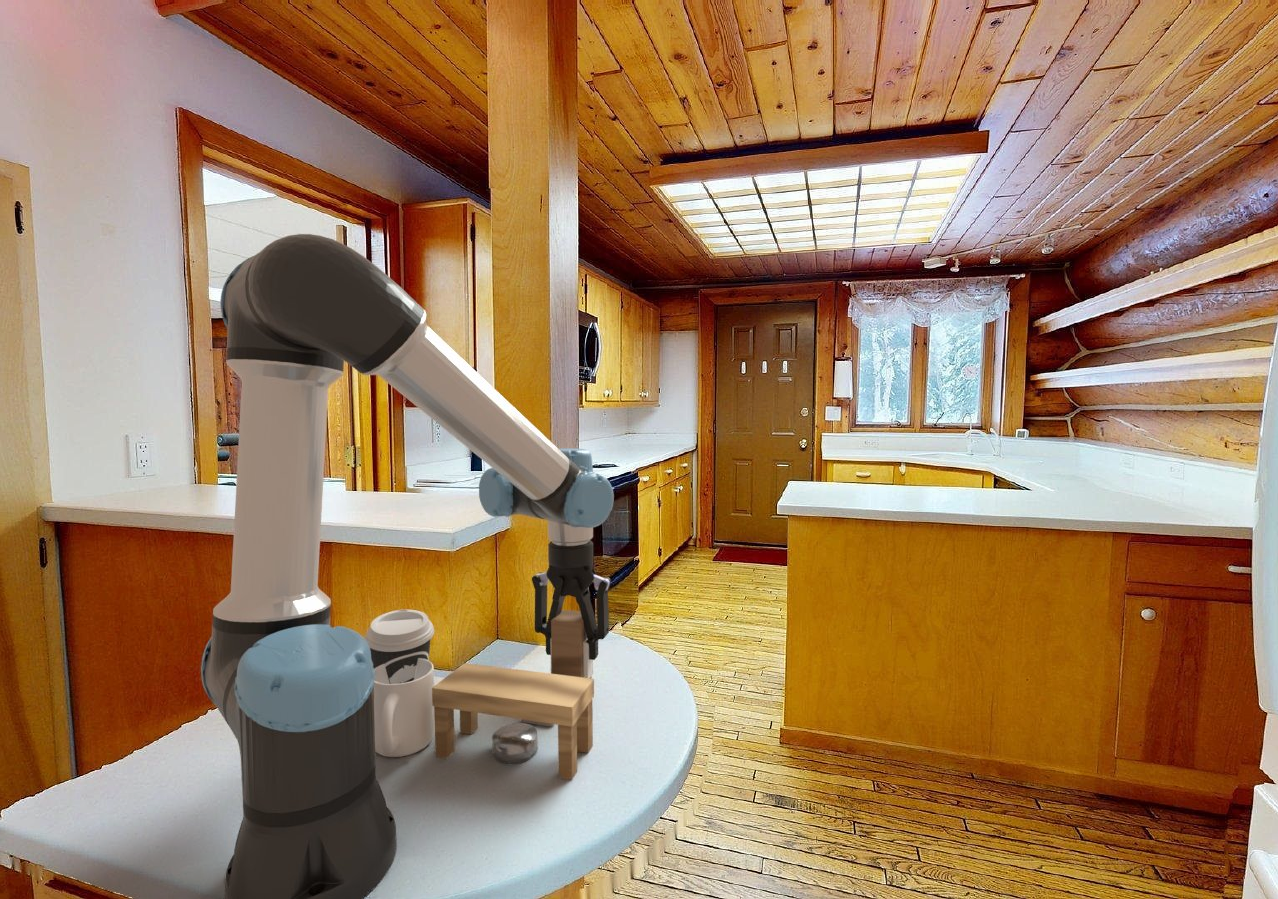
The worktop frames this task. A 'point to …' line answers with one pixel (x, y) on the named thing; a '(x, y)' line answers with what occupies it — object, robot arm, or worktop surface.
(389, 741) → the mug
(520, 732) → the token
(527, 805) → the worktop surface
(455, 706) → the riser
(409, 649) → the coffee cup
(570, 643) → the brown l-shaped block
